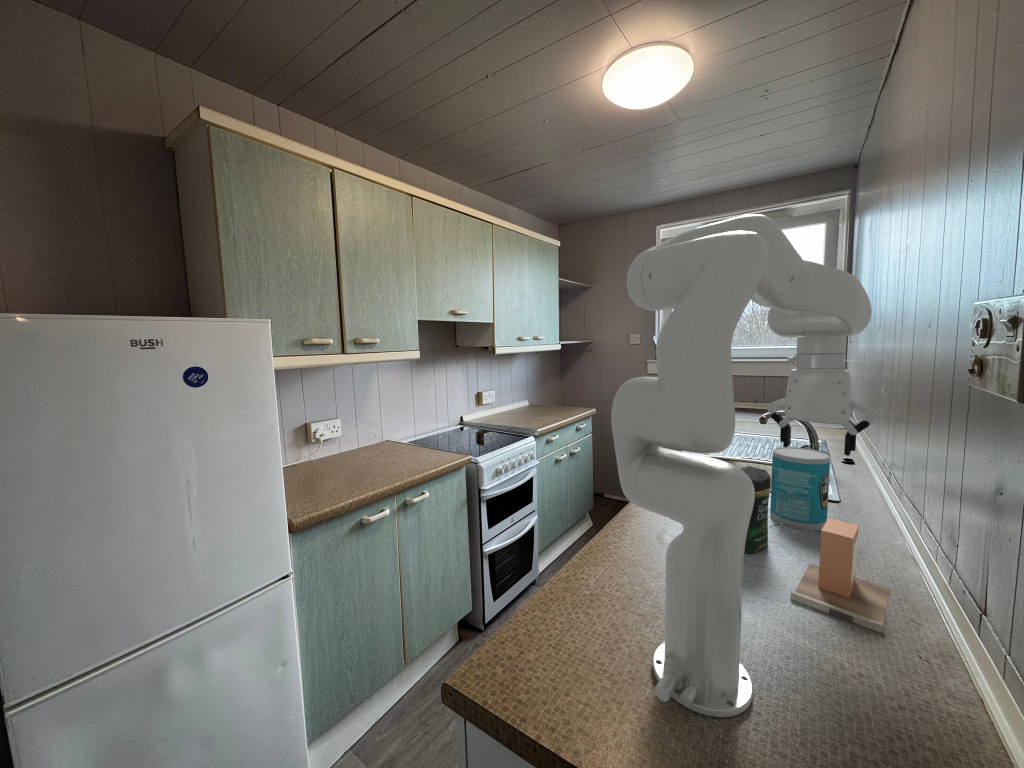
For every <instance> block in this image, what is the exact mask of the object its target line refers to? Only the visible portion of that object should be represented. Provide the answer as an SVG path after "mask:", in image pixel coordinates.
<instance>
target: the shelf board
mask: <svg viewBox="0 0 1024 768" xmlns="http://www.w3.org/2000/svg"><path fill="white" fill-rule="evenodd" d="M818 581H819V565H815V564H813V563H809V564H808V566H807V568H806V570H805V572H804V573H803V574H802V577H801V579H800V580H799V583H798V584H797V586H796V588H795V590H791V591H790V600H791V601H794V602H796V603H797V602H798V603H800V604H802V605H804V606H808V607H810V608H813V609H815V610H818V611H821V612H823V613H827V614H828V615H831V616H833V617H836V618H837V619H838V618H839V619H841V620H843V621H846V622H848V623H849V622H850V623H854V624H856V625H859V626H862V627H865V628H867V629H870V630H872V631H875V632H877V633H880V634H883V629H884V624H885V618H886V614H887V613H886V611H887V608H888V601H889V596H890V590H891V588H890V587H887V586H883V585H880V584H877V583H874V582H871V581H867V580H865V579H861V578H858V577H855V583H854V586H853V589H852V592H851V595H850V598H849V597H846V596H843V595H840V594H837V593H834V592H831V591H828V590H825V589H822V588H819V587H818Z"/></svg>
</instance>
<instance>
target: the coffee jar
mask: <svg viewBox="0 0 1024 768" xmlns="http://www.w3.org/2000/svg"><path fill="white" fill-rule="evenodd" d="M739 468H740V469H741V470H743V471H744V472H745V473H746V474H747V475H748V476H749V477H750V479H751V481H752V483H753V485H754V490H755V499H754V506H753V510H752V514H751V518H750V522H749V527H748V531H747V536H746V542H745V550H744V555H756V554H759V553H762V552H764V551H765V550H766V549H768V547H769V529H768V528H769V525H768V524H769V499H770V495H771V480H772V476H771V475H770V473H769V472H768V471H767V470H766V469H763V468H758V467H756V466H755V467H754V466H750V465H748V466H744V467H739Z"/></svg>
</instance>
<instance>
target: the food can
mask: <svg viewBox="0 0 1024 768" xmlns="http://www.w3.org/2000/svg"><path fill="white" fill-rule="evenodd" d="M771 460H772V461H771V489H770V505H769V506H770V509H769V511H770V512H769V513H770V517H771V516H772V517H771V519H772V520H773V519H775V520H776V521H777V523H778V522H779V524H780V523H782V524H781V525H783V524H784V525H783V526H785V525H786V526H785V527H788V526H789V527H788V528H793V529H796V528H797V529H798V530H801V529H803V531H821V530H822V528H823V526H824V525H825V523H826V521H827V520H828V508H829V505H828V504H829V490H830V489H829V487H830V475H831V473H830V472H831V471H830V470H831V457H830V455H829V454H828V453H826V452H824V451H821V450H816V449H811V448H804V447H796V446H795V447H794V446H788V447H783V446H781V447H780V446H779V447H776V448H774V449H773V450H772V459H771ZM775 520H774V521H775ZM776 521H775V522H776Z"/></svg>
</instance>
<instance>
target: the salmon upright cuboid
mask: <svg viewBox="0 0 1024 768" xmlns="http://www.w3.org/2000/svg"><path fill="white" fill-rule="evenodd" d="M819 544H820V545H819V546H820V547H819V550H820V551H819V564H818V566H819V581H818V587H819V588H822V589H825V590H828V591H831V592H834V593H837V594H840V595H843V596H846V597H849V598H850V595H851V592H852V589H853V586H854V583H855V578H856V573H857V562H858V561H857V560H858V550H859V549H858V547H859V546H858V545H859V525H858V524H855V523H849V522H847V521H846V522H845V521H841V520H837V519H833V518H828V517H827V521H826V523H825V525H824V526H823V528H822V529H821V530H820V543H819Z"/></svg>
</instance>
